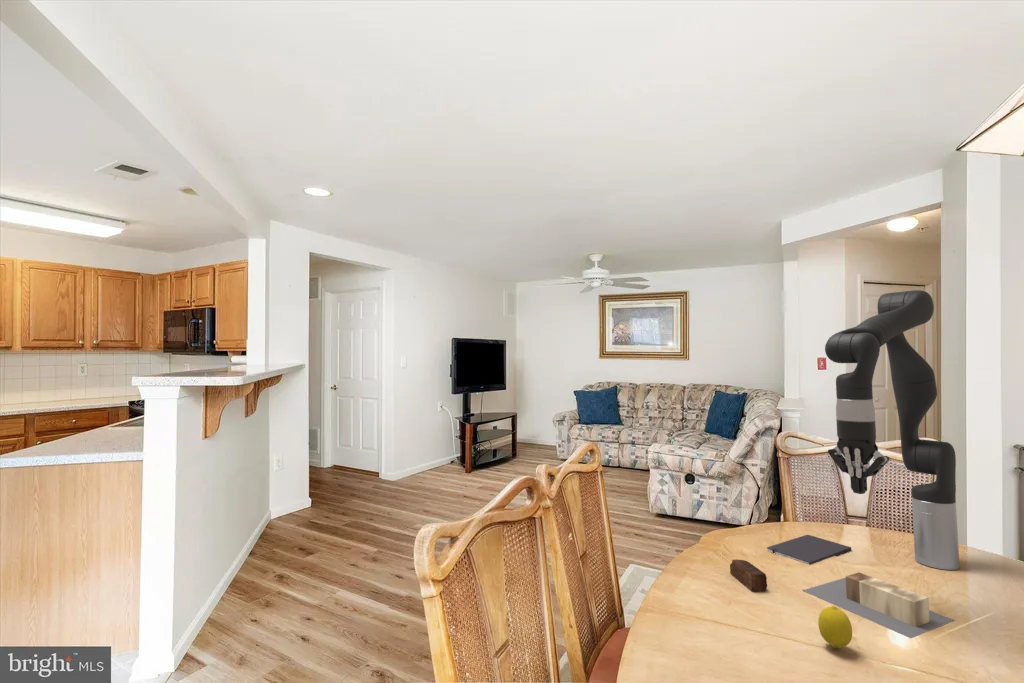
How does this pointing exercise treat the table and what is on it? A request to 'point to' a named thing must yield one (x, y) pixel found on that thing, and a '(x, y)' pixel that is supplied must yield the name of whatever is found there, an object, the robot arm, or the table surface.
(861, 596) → the tall block
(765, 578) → the brick
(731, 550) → the table surface
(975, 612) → the table surface
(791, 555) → the notebook
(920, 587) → the table surface
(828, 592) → the rubber mat
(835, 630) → the lemon
